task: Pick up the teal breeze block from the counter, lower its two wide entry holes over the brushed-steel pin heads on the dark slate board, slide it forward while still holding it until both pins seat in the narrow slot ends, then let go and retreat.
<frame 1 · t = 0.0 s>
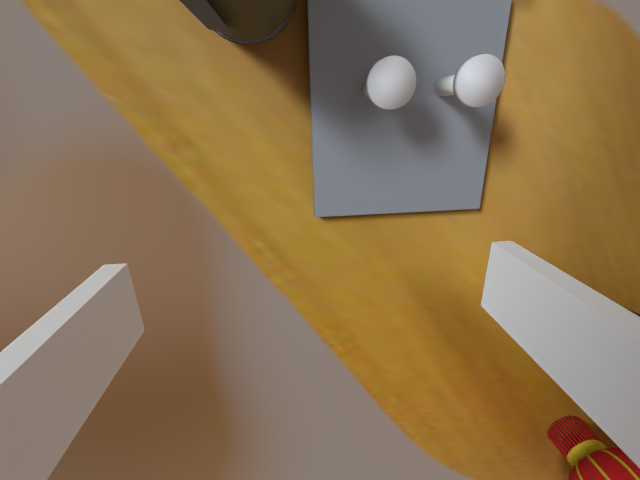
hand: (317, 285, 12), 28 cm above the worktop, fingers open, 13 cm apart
lantern: (563, 427, 59), on the worktop
board: (400, 114, 37), on the worktop
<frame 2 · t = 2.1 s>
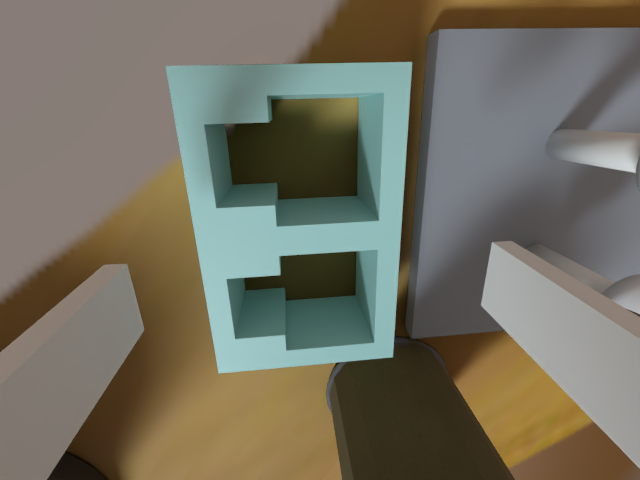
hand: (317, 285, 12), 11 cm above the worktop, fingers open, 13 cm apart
canister: (388, 384, 29), on the worktop
board: (564, 196, 24), on the worktop
teal breeze block: (297, 210, 22), on the worktop
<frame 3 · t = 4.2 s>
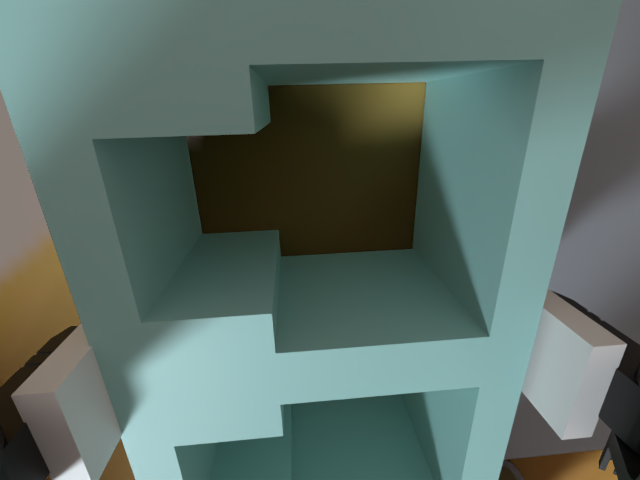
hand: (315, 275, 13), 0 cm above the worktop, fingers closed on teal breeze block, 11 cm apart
teal breeze block: (312, 273, 13), on the worktop, touching gripper
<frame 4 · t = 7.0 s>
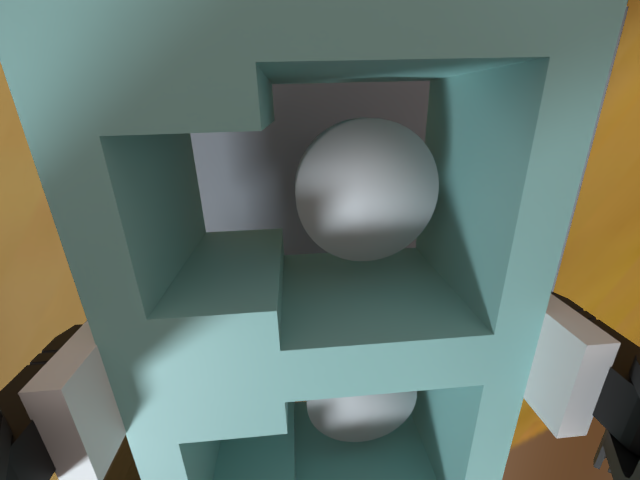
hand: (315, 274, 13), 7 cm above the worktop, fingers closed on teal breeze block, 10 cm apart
canister: (206, 433, 25), on the worktop
board: (374, 218, 19), on the worktop
teal breeze block: (315, 271, 13), point 6 cm above the worktop, touching gripper
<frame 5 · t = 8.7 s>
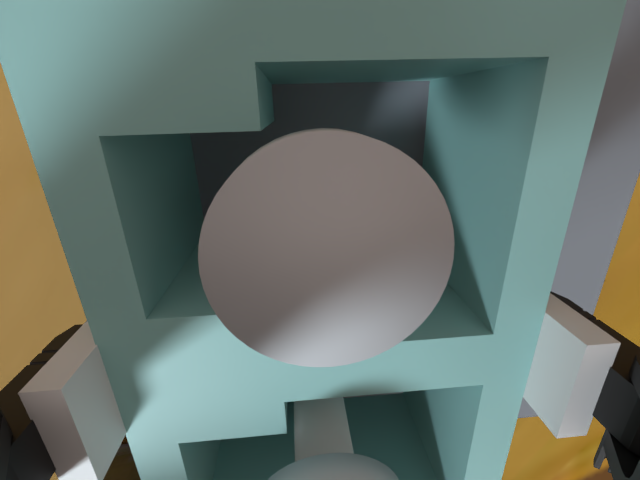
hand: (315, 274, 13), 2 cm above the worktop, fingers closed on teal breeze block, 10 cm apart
board: (363, 248, 15), on the worktop
teal breeze block: (315, 271, 13), point 2 cm above the worktop, touching gripper
when the fingers open (2 cm above the worktop, at t = 9.7 s): teal breeze block stays where it is, resting on board.
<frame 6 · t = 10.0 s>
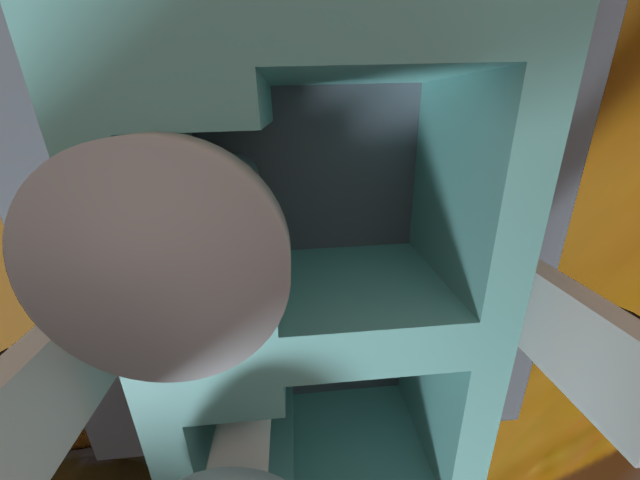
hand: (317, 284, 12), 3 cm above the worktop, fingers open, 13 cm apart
board: (307, 252, 15), on the worktop
teal breeze block: (313, 266, 14), point 1 cm above the worktop, touching board
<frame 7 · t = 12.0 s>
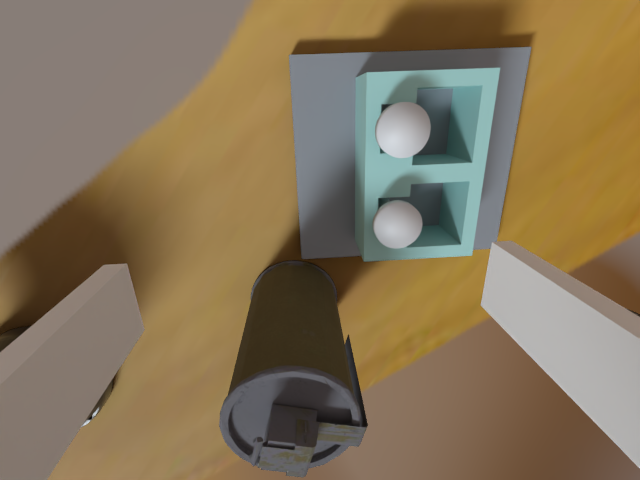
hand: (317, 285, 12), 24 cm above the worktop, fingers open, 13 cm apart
canister: (296, 297, 41), on the worktop
board: (400, 161, 35), on the worktop
teal breeze block: (406, 163, 34), point 1 cm above the worktop, touching board
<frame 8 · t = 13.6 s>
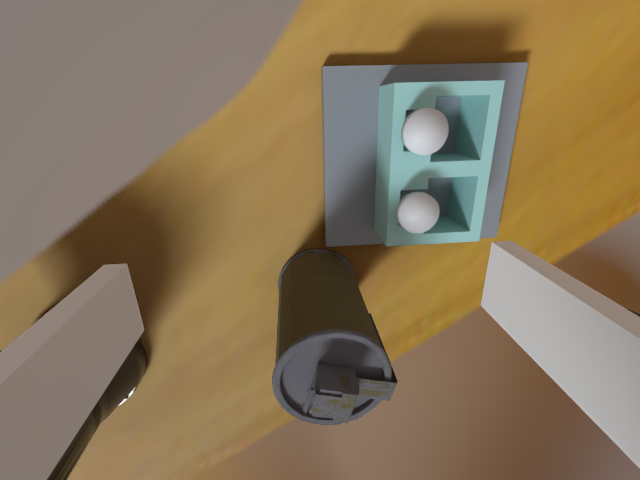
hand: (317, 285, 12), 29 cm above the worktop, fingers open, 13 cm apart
canister: (318, 283, 45), on the worktop
board: (415, 159, 40), on the worktop
teal breeze block: (420, 161, 38), point 1 cm above the worktop, touching board
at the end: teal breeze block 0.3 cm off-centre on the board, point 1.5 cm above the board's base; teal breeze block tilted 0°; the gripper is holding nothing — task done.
